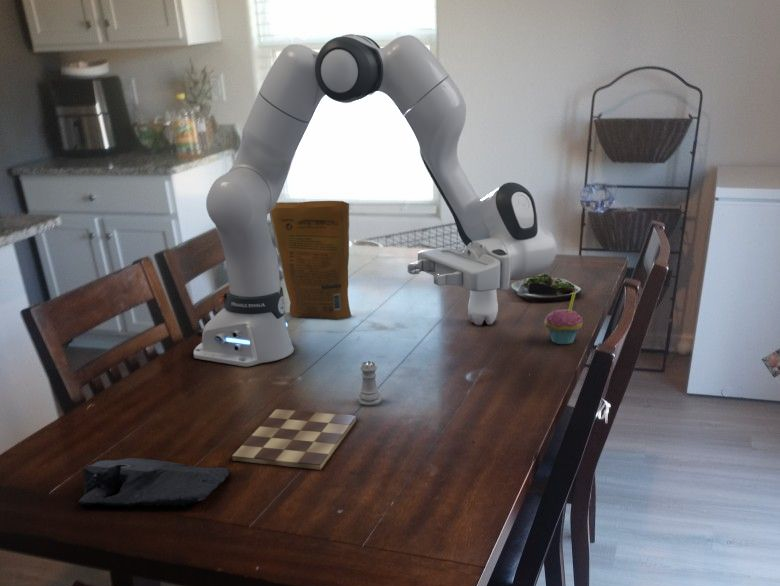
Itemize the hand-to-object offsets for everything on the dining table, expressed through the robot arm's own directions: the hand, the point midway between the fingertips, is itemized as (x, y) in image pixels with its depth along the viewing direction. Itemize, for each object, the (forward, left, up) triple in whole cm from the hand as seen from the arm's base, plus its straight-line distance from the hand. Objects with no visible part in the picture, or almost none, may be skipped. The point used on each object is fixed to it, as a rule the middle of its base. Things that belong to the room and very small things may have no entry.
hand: (422, 274), depth 157 cm
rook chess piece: (-9, -9, -23) cm, 26 cm away
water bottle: (+4, +43, -23) cm, 49 cm away
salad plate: (+16, +69, -23) cm, 75 cm away
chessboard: (-17, -28, -23) cm, 39 cm away
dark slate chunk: (-33, -50, -23) cm, 64 cm away
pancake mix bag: (-37, +40, -23) cm, 59 cm away
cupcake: (+24, +33, -23) cm, 47 cm away
